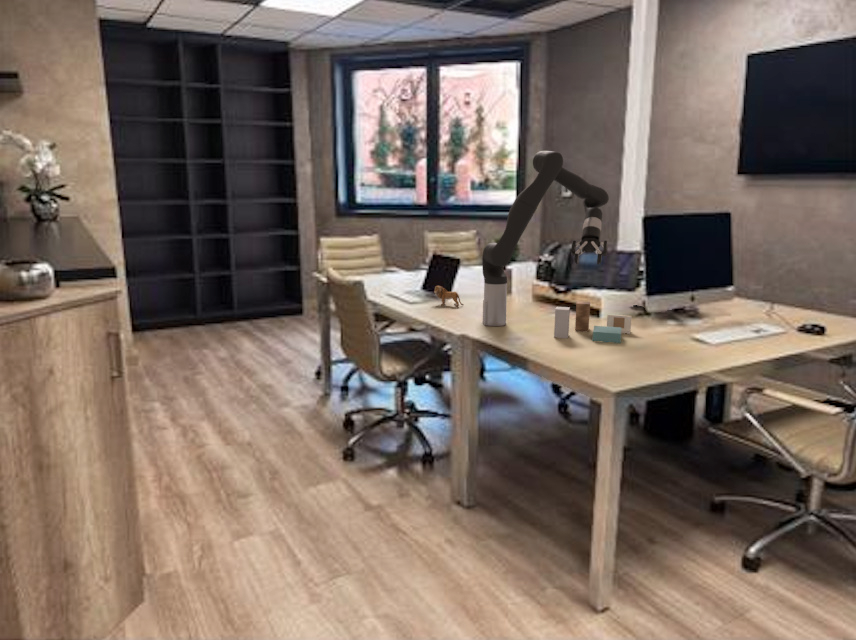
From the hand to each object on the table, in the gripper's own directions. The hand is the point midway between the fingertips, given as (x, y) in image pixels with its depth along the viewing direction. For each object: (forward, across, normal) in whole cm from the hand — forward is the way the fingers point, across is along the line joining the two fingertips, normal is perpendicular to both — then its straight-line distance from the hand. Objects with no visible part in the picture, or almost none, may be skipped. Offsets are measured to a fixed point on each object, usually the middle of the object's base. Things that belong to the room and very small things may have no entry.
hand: (587, 263), depth 261 cm
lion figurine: (+8, -66, +26) cm, 72 cm away
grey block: (+35, -6, -2) cm, 36 cm away
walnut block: (+26, 0, +8) cm, 27 cm away
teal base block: (+34, +11, 0) cm, 36 cm away
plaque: (+26, +14, +9) cm, 31 cm away
